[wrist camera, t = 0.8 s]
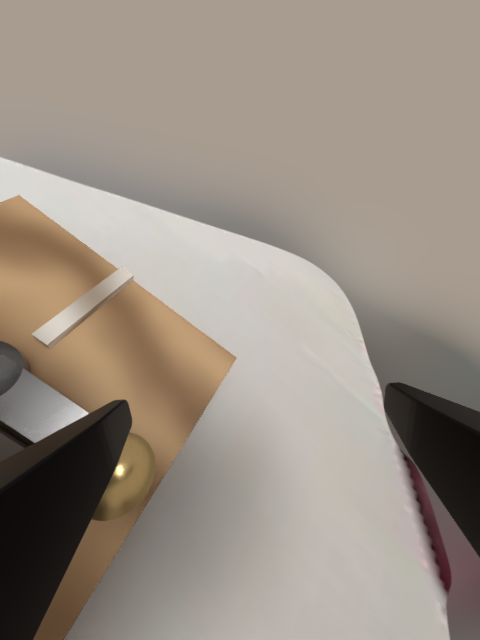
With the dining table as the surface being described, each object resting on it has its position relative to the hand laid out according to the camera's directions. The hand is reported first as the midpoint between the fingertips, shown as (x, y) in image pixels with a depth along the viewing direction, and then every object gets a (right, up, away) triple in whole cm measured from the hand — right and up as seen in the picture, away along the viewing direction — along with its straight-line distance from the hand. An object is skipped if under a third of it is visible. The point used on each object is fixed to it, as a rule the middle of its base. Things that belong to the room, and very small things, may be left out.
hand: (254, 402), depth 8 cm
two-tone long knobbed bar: (-12, -3, +6) cm, 13 cm away
